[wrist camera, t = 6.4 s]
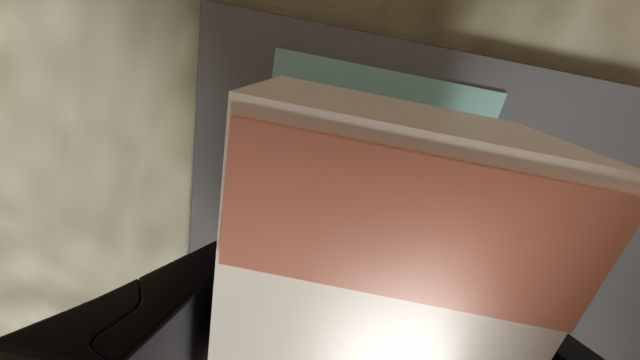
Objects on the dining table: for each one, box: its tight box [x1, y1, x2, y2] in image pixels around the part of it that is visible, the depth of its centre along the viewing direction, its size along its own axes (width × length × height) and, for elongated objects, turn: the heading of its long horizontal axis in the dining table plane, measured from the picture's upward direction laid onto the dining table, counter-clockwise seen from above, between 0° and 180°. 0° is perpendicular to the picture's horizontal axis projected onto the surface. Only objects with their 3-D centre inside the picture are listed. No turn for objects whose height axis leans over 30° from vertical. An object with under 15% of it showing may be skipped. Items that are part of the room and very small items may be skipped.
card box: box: [208, 76, 640, 360], centre depth 8 cm, size 9×6×4 cm, turn 170°
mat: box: [190, 0, 640, 360], centre depth 13 cm, size 20×16×1 cm
